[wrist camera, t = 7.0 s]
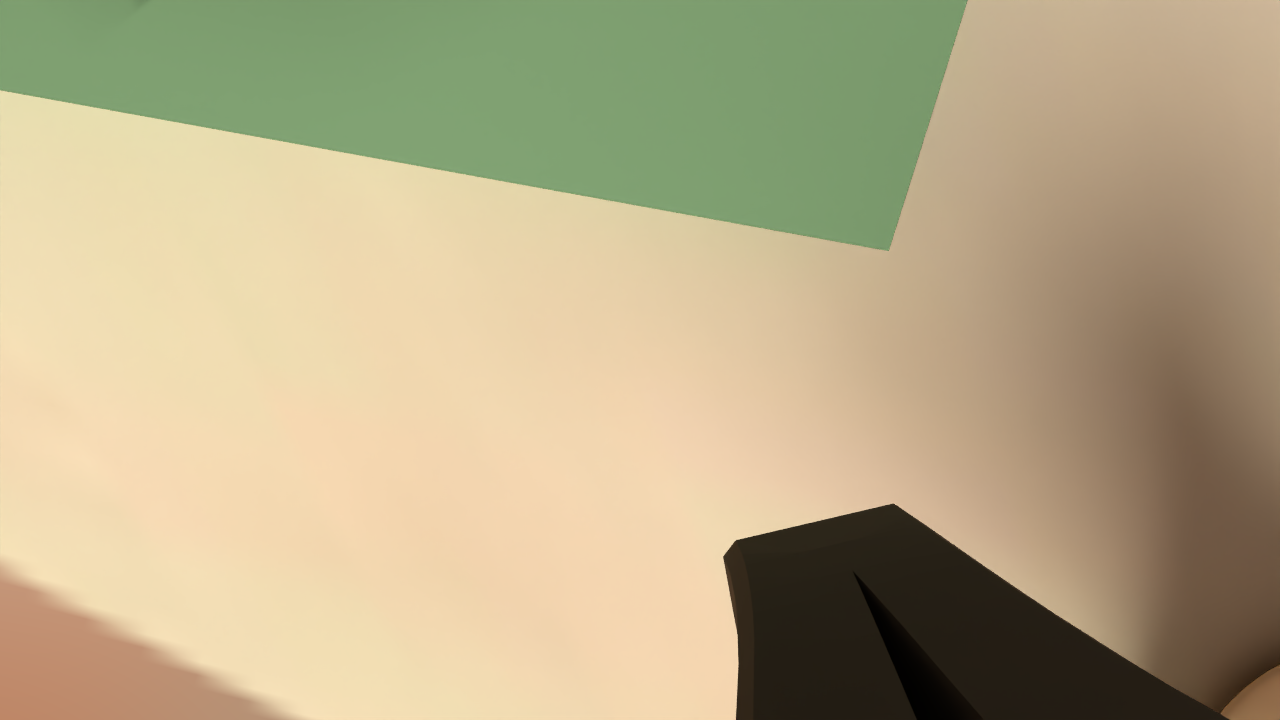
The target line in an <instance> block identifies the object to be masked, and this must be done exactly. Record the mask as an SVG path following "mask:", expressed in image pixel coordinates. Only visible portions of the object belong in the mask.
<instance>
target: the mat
mask: <svg viewBox="0 0 1280 720" xmlns="http://www.w3.org/2000/svg"><path fill="white" fill-rule="evenodd" d="M967 1H968V0H0V90H2V91H7V92H13V93H18V94H24V95H29V96H35V97H41V98H46V99H52V100H57V101H63V102H68V103H74V104H79V105H85V106H90V107H96V108H101V109H107V110H112V111H118V112H123V113H129V114H134V115H140V116H146V117H151V118H157V119H162V120H168V121H173V122H179V123H184V124H190V125H195V126H201V127H206V128H212V129H217V130H223V131H228V132H234V133H239V134H245V135H251V136H256V137H262V138H267V139H273V140H278V141H284V142H289V143H295V144H300V145H306V146H311V147H317V148H322V149H328V150H333V151H339V152H344V153H350V154H356V155H361V156H367V157H372V158H378V159H383V160H389V161H394V162H400V163H405V164H411V165H416V166H422V167H427V168H433V169H438V170H444V171H449V172H455V173H461V174H466V175H472V176H477V177H483V178H488V179H494V180H499V181H505V182H510V183H516V184H521V185H527V186H532V187H538V188H543V189H549V190H554V191H560V192H566V193H571V194H577V195H582V196H588V197H593V198H599V199H604V200H610V201H615V202H621V203H626V204H632V205H637V206H643V207H648V208H654V209H659V210H665V211H671V212H676V213H682V214H687V215H693V216H698V217H704V218H709V219H715V220H720V221H726V222H731V223H737V224H742V225H748V226H753V227H759V228H764V229H770V230H776V231H781V232H787V233H792V234H798V235H803V236H809V237H814V238H820V239H825V240H831V241H836V242H842V243H847V244H853V245H858V246H864V247H869V248H875V249H881V250H886V251H889V248H890V245H891V242H892V239H893V236H894V233H895V229H896V226H897V223H898V220H899V217H900V214H901V210H902V207H903V204H904V201H905V198H906V194H907V191H908V188H909V185H910V182H911V179H912V175H913V172H914V169H915V166H916V163H917V159H918V156H919V153H920V150H921V147H922V144H923V140H924V137H925V134H926V131H927V128H928V125H929V121H930V118H931V115H932V112H933V109H934V105H935V102H936V99H937V96H938V93H939V90H940V86H941V83H942V80H943V77H944V74H945V70H946V67H947V64H948V61H949V58H950V55H951V51H952V48H953V45H954V42H955V39H956V35H957V32H958V29H959V26H960V23H961V20H962V16H963V13H964V10H965V7H966V4H967Z"/></svg>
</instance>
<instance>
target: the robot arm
mask: <svg viewBox="0 0 1280 720" xmlns="http://www.w3.org/2000/svg"><path fill="white" fill-rule="evenodd" d="M723 558H724V564H725V569H726V574H727V580H728V585H729V591H730V596H731V601H732V607H733V612H734V618H735V623H736V628H737V634H738V659H739V667H738V689H737V710H736V720H1230V719H1228V718H1226V717H1224V716H1223V715H1221V714H1219V713H1217V712H1216V711H1214V710H1212V709H1210V708H1208V707H1207V706H1205V705H1203V704H1201V703H1199V702H1198V701H1196V700H1194V699H1192V698H1191V697H1189V696H1187V695H1185V694H1183V693H1182V692H1180V691H1178V690H1176V689H1175V688H1173V687H1171V686H1169V685H1168V684H1166V683H1164V682H1163V681H1161V680H1159V679H1158V678H1156V677H1154V676H1153V675H1151V674H1149V673H1148V672H1146V671H1144V670H1143V669H1141V668H1139V667H1138V666H1136V665H1135V664H1133V663H1131V662H1130V661H1128V660H1127V659H1125V658H1124V657H1122V656H1120V655H1119V654H1117V653H1116V652H1114V651H1112V650H1111V649H1109V648H1108V647H1106V646H1105V645H1103V644H1101V643H1100V642H1098V641H1097V640H1095V639H1094V638H1092V637H1090V636H1089V635H1087V634H1086V633H1084V632H1082V631H1081V630H1079V629H1078V628H1076V627H1075V626H1073V625H1071V624H1070V623H1068V622H1067V621H1065V620H1064V619H1062V618H1060V617H1059V616H1057V615H1056V614H1054V613H1053V612H1051V611H1050V610H1048V609H1047V608H1045V607H1044V606H1042V605H1041V604H1039V603H1038V602H1036V601H1035V600H1033V599H1032V598H1030V597H1029V596H1027V595H1026V594H1024V593H1023V592H1021V591H1020V590H1018V589H1017V588H1015V587H1014V586H1012V585H1011V584H1010V583H1008V582H1007V581H1005V580H1004V579H1002V578H1001V577H999V576H998V575H996V574H995V573H993V572H992V571H991V570H989V569H988V568H986V567H985V566H983V565H982V564H980V563H979V562H978V561H976V560H975V559H973V558H972V557H970V556H969V555H967V554H966V553H965V552H963V551H962V550H960V549H959V548H957V547H956V546H955V545H953V544H952V543H950V542H949V541H947V540H946V539H945V538H943V537H942V536H940V535H939V534H937V533H936V532H935V531H933V530H932V529H930V528H929V527H927V526H926V525H925V524H923V523H922V522H920V521H919V520H917V519H916V518H914V517H913V516H911V515H910V514H908V513H907V512H905V511H904V510H902V509H901V508H899V507H898V506H896V505H895V504H890V505H885V506H881V507H877V508H872V509H868V510H864V511H860V512H855V513H851V514H847V515H843V516H838V517H834V518H830V519H825V520H821V521H817V522H813V523H808V524H804V525H800V526H795V527H791V528H787V529H783V530H778V531H774V532H770V533H765V534H761V535H757V536H753V537H748V538H744V539H740V540H736V541H735V542H734V543H733V545H732V546H731V547H730V549H729V550H728V551H727V552H726V554H725V555H724V556H723Z"/></svg>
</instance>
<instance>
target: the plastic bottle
mask: <svg viewBox="0 0 1280 720" xmlns="http://www.w3.org/2000/svg"><path fill="white" fill-rule="evenodd" d="M1220 714H1221V715H1223V716H1224V717H1226V718H1228V719H1230V720H1280V665H1278V666H1276V667H1275V668H1273V669H1271V670H1269V671H1267V672H1265V673H1264V674H1263V675H1261V676H1260V677H1259V678H1257V679H1256V680H1255V681H1253V682H1252V683H1251V684H1249V685H1248V686H1247V687H1245V688H1244V689H1243V690H1242V691H1241V692H1240V693H1239V694H1238V695H1237V696H1236V697H1235V698H1234V699H1233V700H1232V701H1231V702H1230V703H1229V704H1228V705H1227V706H1226V707H1225V708H1224V709H1223V711H1222V712H1221V713H1220Z"/></svg>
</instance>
